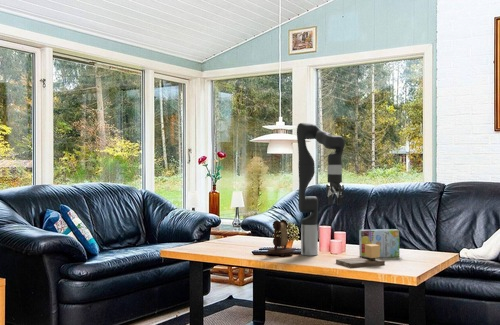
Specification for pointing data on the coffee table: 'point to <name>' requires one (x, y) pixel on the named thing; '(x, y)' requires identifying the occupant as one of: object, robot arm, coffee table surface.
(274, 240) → the brown upright piece
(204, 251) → the coffee table surface
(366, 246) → the tan wooden block
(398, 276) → the coffee table surface
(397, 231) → the snack box
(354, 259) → the board
